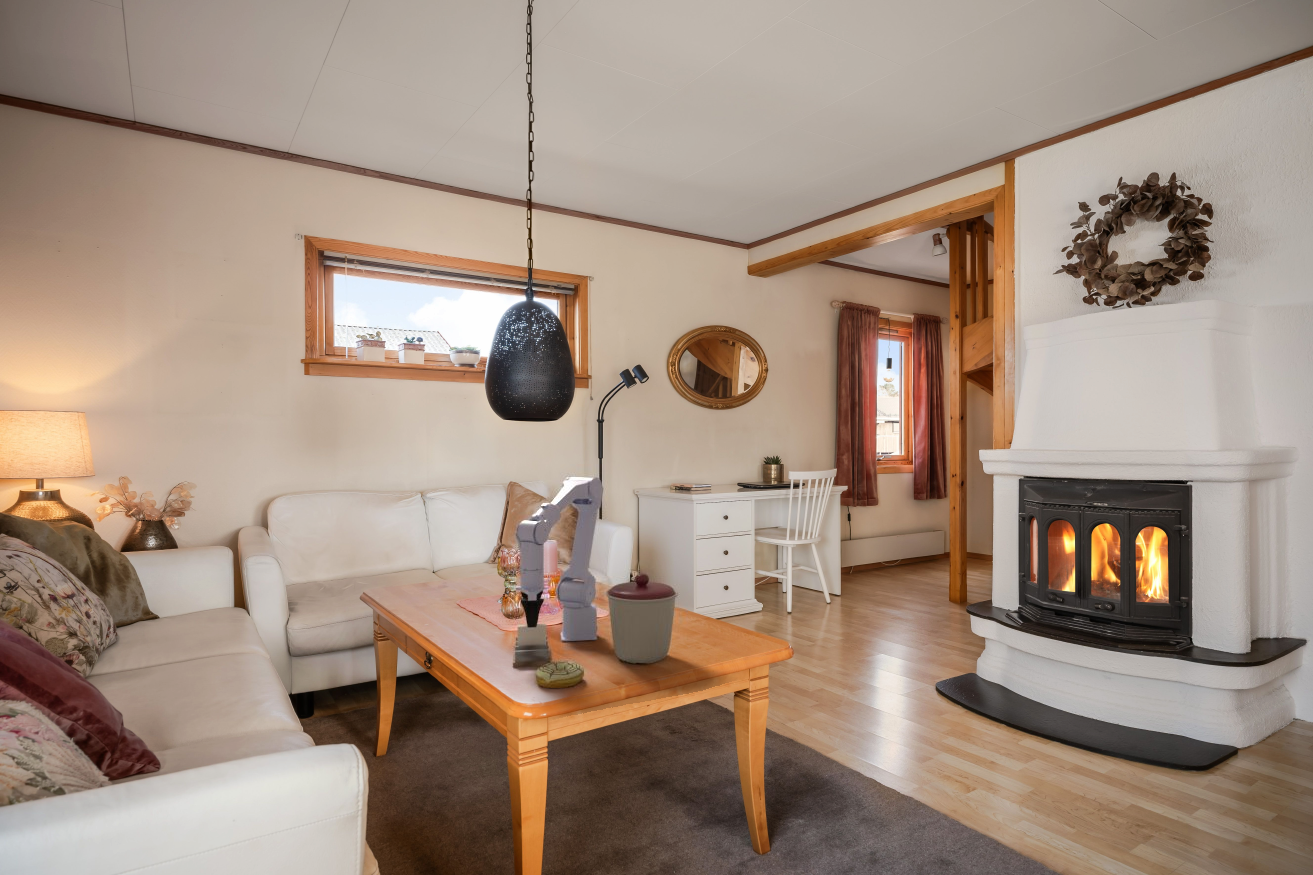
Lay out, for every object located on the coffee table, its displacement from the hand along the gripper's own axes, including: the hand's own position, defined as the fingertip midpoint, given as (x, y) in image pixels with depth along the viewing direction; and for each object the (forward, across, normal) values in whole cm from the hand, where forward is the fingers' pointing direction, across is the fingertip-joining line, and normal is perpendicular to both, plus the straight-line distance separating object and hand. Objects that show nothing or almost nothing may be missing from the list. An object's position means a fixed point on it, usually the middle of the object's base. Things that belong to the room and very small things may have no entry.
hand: (532, 622), depth 179 cm
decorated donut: (+9, +19, +6) cm, 22 cm away
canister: (+9, +5, +27) cm, 29 cm away
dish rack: (+8, 0, 0) cm, 9 cm away
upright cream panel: (+8, 0, 0) cm, 8 cm away
